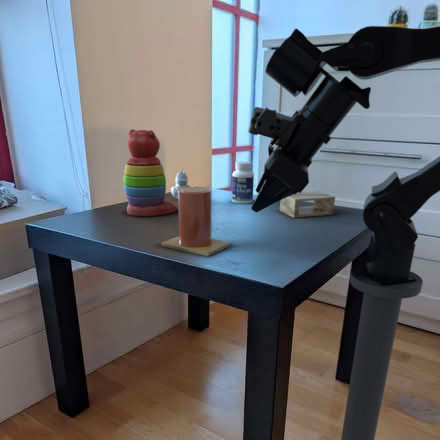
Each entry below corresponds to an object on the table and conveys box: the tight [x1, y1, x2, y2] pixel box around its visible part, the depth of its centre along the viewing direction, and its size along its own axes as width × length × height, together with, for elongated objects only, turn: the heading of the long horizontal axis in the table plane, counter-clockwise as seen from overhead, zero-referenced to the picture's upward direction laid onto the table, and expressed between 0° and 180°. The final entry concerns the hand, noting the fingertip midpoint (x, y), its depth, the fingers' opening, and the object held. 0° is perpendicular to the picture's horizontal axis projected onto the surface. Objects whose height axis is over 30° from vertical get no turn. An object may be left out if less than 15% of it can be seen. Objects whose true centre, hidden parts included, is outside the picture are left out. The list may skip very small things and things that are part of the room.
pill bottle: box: [231, 160, 255, 205], centre depth 105 cm, size 5×5×10 cm
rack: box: [279, 190, 336, 219], centre depth 95 cm, size 7×10×4 cm
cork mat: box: [160, 235, 232, 257], centre depth 73 cm, size 10×7×1 cm
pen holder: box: [177, 186, 213, 247], centre depth 71 cm, size 6×6×9 cm
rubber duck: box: [170, 168, 192, 200], centre depth 109 cm, size 5×7×8 cm
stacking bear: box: [123, 128, 177, 217], centre depth 93 cm, size 11×10×18 cm
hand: (255, 200), depth 69 cm, fingers open, 9 cm apart
